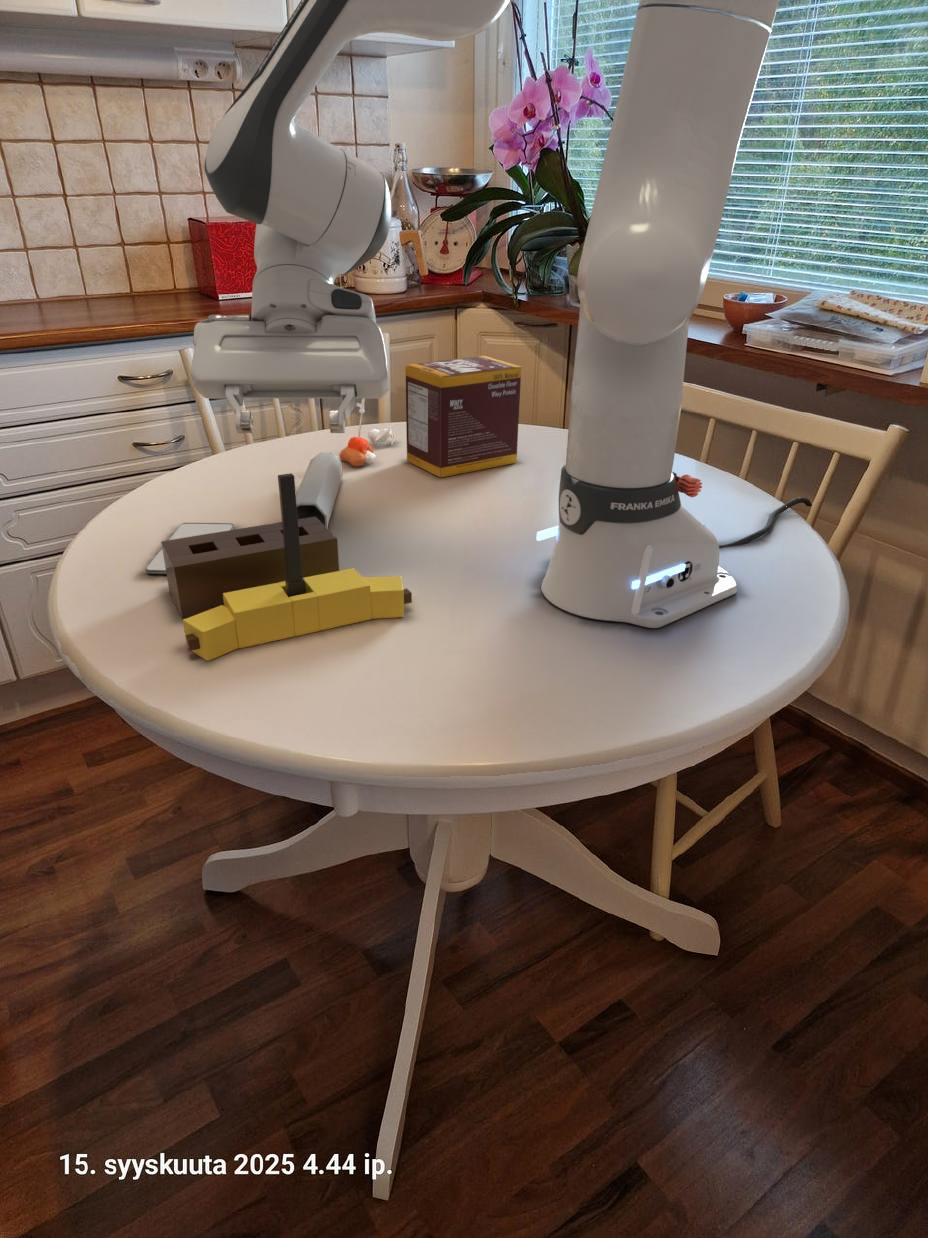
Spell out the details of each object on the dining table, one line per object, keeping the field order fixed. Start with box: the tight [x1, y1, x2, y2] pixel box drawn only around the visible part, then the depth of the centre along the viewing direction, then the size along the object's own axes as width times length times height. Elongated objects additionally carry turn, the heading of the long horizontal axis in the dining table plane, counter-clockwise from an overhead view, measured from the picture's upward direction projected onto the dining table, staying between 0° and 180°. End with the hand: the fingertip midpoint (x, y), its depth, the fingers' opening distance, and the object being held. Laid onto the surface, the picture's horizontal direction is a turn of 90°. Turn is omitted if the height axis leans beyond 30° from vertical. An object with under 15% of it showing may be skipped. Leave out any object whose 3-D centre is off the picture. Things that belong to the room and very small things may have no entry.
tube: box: [296, 451, 343, 530], centre depth 114 cm, size 5×5×25 cm
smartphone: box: [144, 522, 235, 575], centre depth 101 cm, size 7×1×15 cm
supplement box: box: [404, 355, 522, 478], centre depth 131 cm, size 10×15×16 cm
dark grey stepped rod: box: [277, 473, 306, 597], centre depth 81 cm, size 2×1×16 cm, turn 118°
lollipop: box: [339, 398, 376, 467], centre depth 132 cm, size 6×10×12 cm, turn 177°
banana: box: [182, 567, 413, 662], centre depth 84 cm, size 6×23×4 cm, turn 118°
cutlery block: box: [160, 517, 340, 620], centre depth 90 cm, size 7×17×6 cm, turn 118°
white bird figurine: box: [367, 422, 397, 447], centre depth 142 cm, size 8×5×5 cm, turn 177°
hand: (290, 430), depth 84 cm, fingers open, 8 cm apart
